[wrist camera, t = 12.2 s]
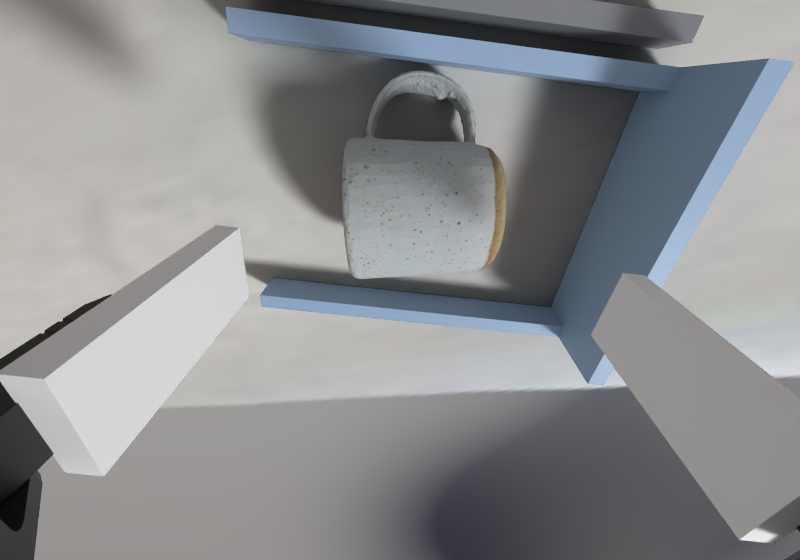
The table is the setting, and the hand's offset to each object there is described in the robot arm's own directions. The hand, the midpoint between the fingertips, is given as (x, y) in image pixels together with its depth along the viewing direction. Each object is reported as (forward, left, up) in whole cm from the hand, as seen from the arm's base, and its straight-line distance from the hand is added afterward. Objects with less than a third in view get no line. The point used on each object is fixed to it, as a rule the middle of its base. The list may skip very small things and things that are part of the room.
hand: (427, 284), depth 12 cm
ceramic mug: (0, -1, -12) cm, 12 cm away
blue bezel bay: (-1, 0, -12) cm, 12 cm away
